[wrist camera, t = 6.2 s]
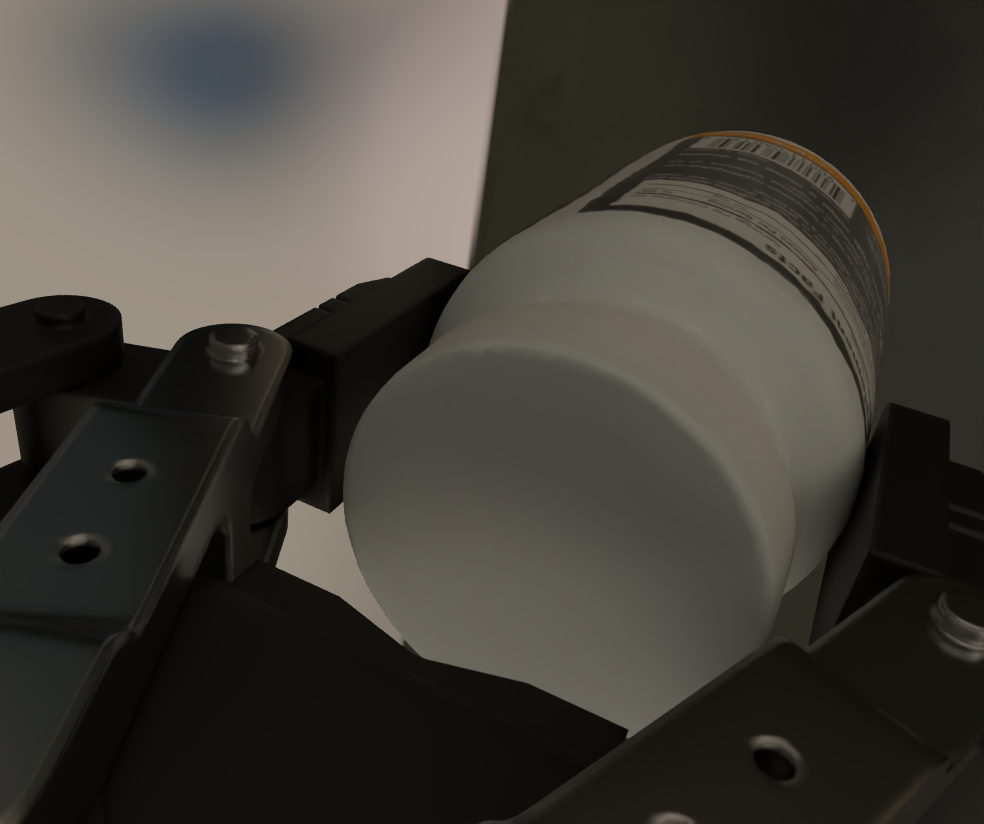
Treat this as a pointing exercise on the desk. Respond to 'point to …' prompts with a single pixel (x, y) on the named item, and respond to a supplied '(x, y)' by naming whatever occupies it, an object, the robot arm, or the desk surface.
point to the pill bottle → (631, 428)
